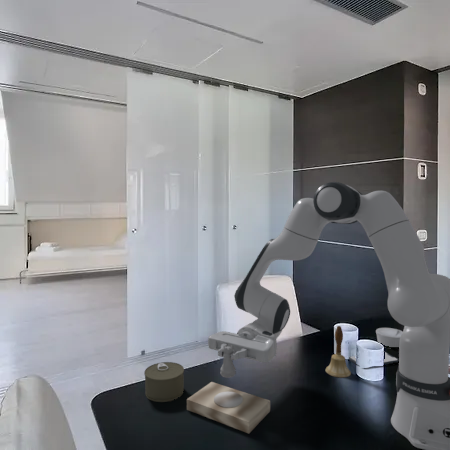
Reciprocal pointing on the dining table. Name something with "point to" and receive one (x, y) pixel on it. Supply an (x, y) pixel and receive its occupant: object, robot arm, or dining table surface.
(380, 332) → the ramekin
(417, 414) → the robot arm
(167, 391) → the can
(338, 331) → the hand bell
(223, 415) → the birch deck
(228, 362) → the rook chess piece
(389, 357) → the phone case
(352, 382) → the dining table surface
